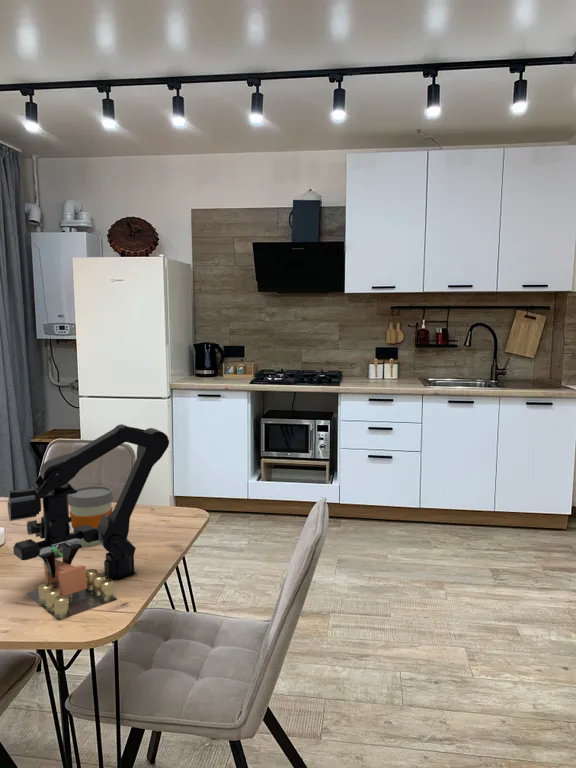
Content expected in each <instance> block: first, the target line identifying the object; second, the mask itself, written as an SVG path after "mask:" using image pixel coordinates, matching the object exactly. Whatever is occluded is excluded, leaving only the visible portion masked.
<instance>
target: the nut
mask: <svg viewBox="0 0 576 768" xmlns="http://www.w3.org/2000/svg"><path fill="white" fill-rule="evenodd" d="M58 589H59V590H60V585H58ZM78 593H79V591H78V592H75V593H72V594H69V595H67V596H68V597H74V596H75V595H76V594H78ZM60 595H61V592H60Z"/></svg>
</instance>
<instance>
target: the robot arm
mask: <svg viewBox="0 0 576 768" xmlns="http://www.w3.org/2000/svg"><path fill="white" fill-rule="evenodd" d="M124 443H129V444H133V445H135V446H136V458H135V461H134V463H133V466H132V468H131V470H130V472H129V475H128V477H127V480H126V482H125V484H124V486H123V488H122V490H121V493H120V495H119V497H118V499H117V502H116V504H115V506H114V508H113V509H112V513H111V514H110V515H109V516H108V517H107V516H106V515H102V518H101V521H100V524H99V525H98V527H97V528H96V529H95V528H93V527H91V526H89V525H83V526H80V527H76V528H74V529H72V531H73V532H70V531H71V529H70V528H71V527H69V526H70V523H71V522H72V521H71V517H70V510H69V509H70V505H69V503H68V500H69V494H75V493H77V490H76V489H77V488H75V487H74V486H72V485H71V484H70V481H72V480H73V479H74V478H75V477H76V476H77V474H78V473H79V472H80V471H81V470H82V469H83V468H84V467H86V466H87V465H90V464H91V463H93V462H94V461H96V460H98V459H100V458H101V457H102V456H104V455H106V454H108V453H110V452H111V451H113V450H114V449H116V448H118V447H119V446H121V445H122V444H124ZM169 444H170V440H169V437H168V435H167V433H165V432H163V431H161V430H158V429H157V428H154V427H150V428H149V427H148V428H146V429H142V428H138V427H133V426H127V425H125V424H121V423H120V424H118V425H116V426H115V427H114V428H112V429H111V430H109V431H107V432H106V433H104V434H102V435H100V436H98V437H97V438H95V439H94V440H91V441H90V442H88V443H86V444H85V445H84V446H82V447H80V448H78V449H77V450H75V451H73V452H70V453H66V454H63V455H58V456H56V457H54V458H51V459H49V460H47V461H45V462H44V463H43V464H42V465H41V467H40V470H39V475H38V477H37V478H36V479H35V481H34V483H33V484H32V485H31V488H26V489H20V490H19V489H15V490H9V491H8V498H7V499H8V502H7V514H8V519H9V521H10V522H12V521H19V520H26V519H30V518H36V517H37V515H40V513H41V512H42V513H43V516H41V519H40V520H41V521H40V522H38V520H37V519H34V520H31V521H27V522H26V532H27V534H28V535H29V536H30V535H34V534H35V538H37V537H39V538H40V539H44V540H41V541H37V542H36V541H35V540H33V539H32V538H31V539H30V538H29V539H26V540H21V541H17V542H15V543H14V545H13V547H12V548H13V555H14V556H15V557H17V558H18V559H19V560H21V561H28V560H32V559H36V558H38V557H39V558H40V559H42V561H43V563H44V562H45V564H46V567H47V569H48V571H49V573H50V575H51V577H52V578H54V577H55V559H56V558H55V557H56V555H55V554H54V552H53V551H51V547H53V546H56V547H58V545H61V546H62V548H61V549H62V554H63V557H62V562H64V563H67V564H70V565H72V562H73V560H74V558H75V557H76V555H77V552H78V551H79V549H82V548H83V546H82V545H80V544H79V539H83V538H84V541H86V542H87V543H90V542H93V541H97V540H98V541H99V542H100V543H101V544H100V545H101V546H102V547H103V548H104V549H105V550H106V551H107V553H105V560H104V561H103V564H104V566H103V567H104V572H103V573H102V574H104V575H105V578H108V579H111V580H113V581H114V582H119V581H121V580H123V579H127V578H129V577H132V576H136V575H138V572H136V571H135V552H136V546H135V545H134V544H133V543H132V542H131V541H130V540H129V539H128V537H129V531H130V520H131V516H132V514H133V512H134V510H135V507H136V505H137V503H138V500H139V499H140V498H139V497H140V496H141V494H142V492H143V490H144V488H145V484H146V482H147V480H148V477H149V476H150V474H151V471H152V469H153V467H154V466H155V465H156V464H157V462H158V461H160V459H162V458H163V456H164V454H165V453H166V451H167V450H168V448H169ZM41 501H42V502H41Z"/></svg>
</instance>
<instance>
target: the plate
mask: <svg viewBox="0 0 576 768" xmlns="http://www.w3.org/2000/svg"><path fill="white" fill-rule="evenodd" d="M104 574H105V573H104ZM104 574H103V573H100V574H99V572H98V570H97V569H95V568H93V569H92V568H91V569H87V570H86V579H87V589H84V590H81V591H79V593H78V594H76V595H75V596H74V597H68V596H67V595H60V590H59V589H58V585H60V582H57V583H54V584H53V583H46V582H45V583H41V584H39V585H38V587H37V588H38V589H36V590H33V591H29V592H26V593H25V594H26V595H28V597H30V599H32V600H33V601H35V602H36V603H37V604H38V605H39V606H40V607H42V609H44V610H45V611H46V612H47V613H49V614H50V615H51V616H52V617H53V618H54V619H55V620H57V621H58V622H59V621H61V620H64V619H68V618H70V617H73V616H76V615H78V614H81V613H84V612H87V611H89V610H92V609H95V608H98V607H101V606H103V605H106V604H109V603H113V602H115V601H118V598H117V597H115V581H113V580H112V579H109V578H108V579H106V578H107V577H106V576H105V575H104Z"/></svg>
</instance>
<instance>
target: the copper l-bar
mask: <svg viewBox="0 0 576 768" xmlns="http://www.w3.org/2000/svg"><path fill="white" fill-rule="evenodd" d="M43 565H44V568H43V569H44V577H45V583H51V584H53V583H56V582H58V583H60V592H61V595H69V594H72V593H75V592H78V591H81V590H84V589H87V579H86V571H87V570H86V565H83V564H82V565H79V566H74V565H72V564H71V565H70V564H67V563H64V562H63V560H58V559H56V558H55V577H54V578H52V577H51V575H50V573H49V571H48V569H47V567H46V564H45V562H44V561H43Z"/></svg>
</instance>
